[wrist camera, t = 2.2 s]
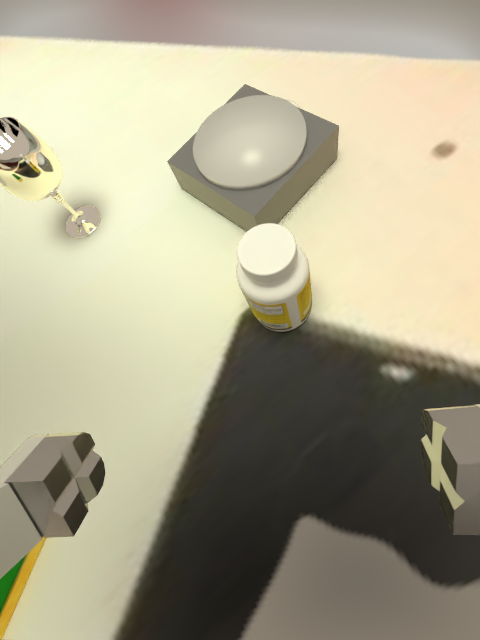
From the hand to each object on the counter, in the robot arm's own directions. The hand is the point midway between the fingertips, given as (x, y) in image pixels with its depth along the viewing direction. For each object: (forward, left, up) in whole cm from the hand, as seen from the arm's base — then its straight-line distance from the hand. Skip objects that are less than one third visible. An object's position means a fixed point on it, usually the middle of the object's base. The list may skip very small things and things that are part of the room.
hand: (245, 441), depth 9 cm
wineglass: (-34, +3, -21) cm, 40 cm away
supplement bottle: (-9, +9, -21) cm, 24 cm away
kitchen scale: (-21, +19, -21) cm, 35 cm away
